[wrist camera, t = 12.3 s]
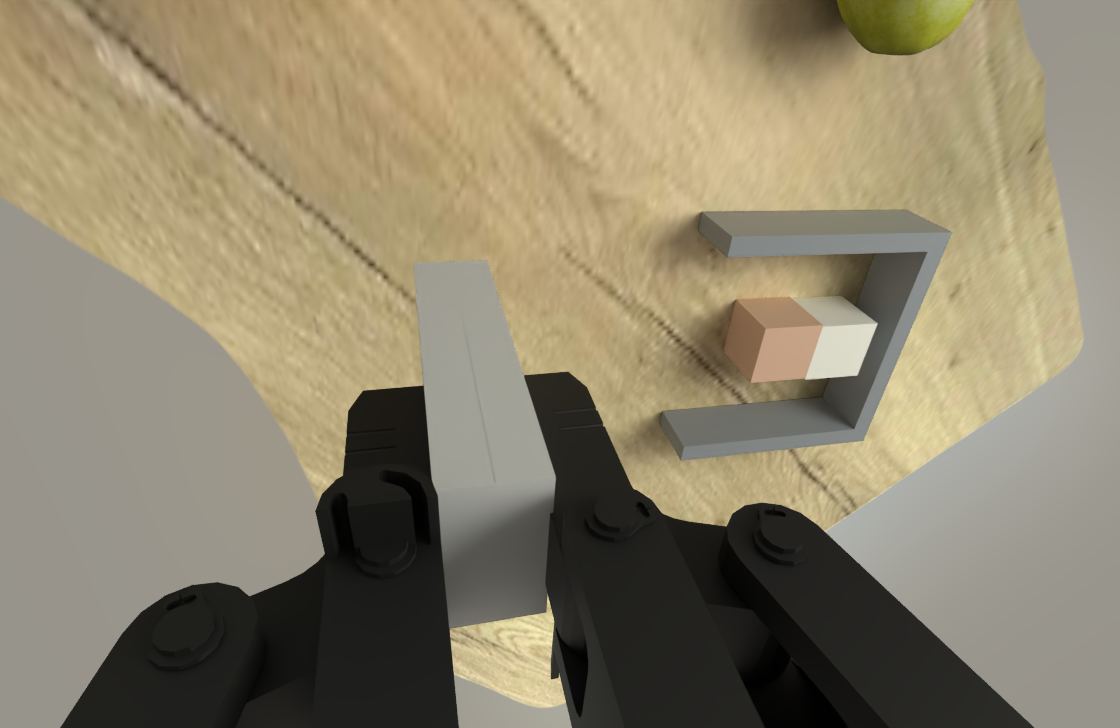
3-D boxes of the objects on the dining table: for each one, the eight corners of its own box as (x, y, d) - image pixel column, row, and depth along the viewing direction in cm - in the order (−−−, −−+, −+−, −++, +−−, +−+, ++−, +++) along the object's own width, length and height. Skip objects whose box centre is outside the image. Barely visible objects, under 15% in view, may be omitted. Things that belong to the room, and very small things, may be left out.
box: (701, 211, 46) (732, 236, 42) (906, 209, 50) (952, 232, 46) (659, 424, 57) (680, 460, 53) (831, 408, 61) (863, 440, 57)
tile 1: (735, 299, 51) (765, 328, 47) (789, 296, 52) (823, 325, 48) (723, 350, 54) (750, 382, 50) (774, 346, 55) (805, 378, 51)
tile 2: (789, 297, 53) (822, 326, 48) (840, 295, 54) (877, 323, 50) (774, 348, 55) (804, 379, 51) (823, 345, 56) (857, 375, 52)
